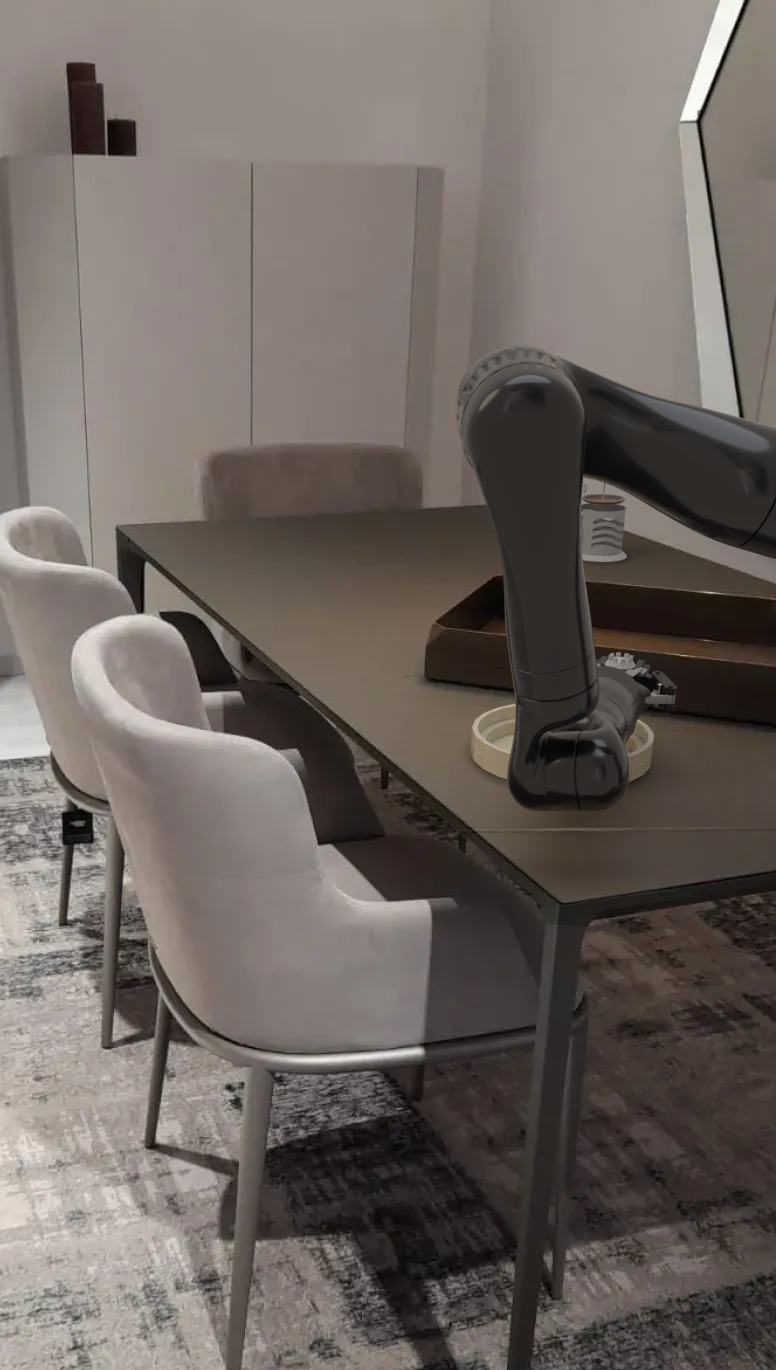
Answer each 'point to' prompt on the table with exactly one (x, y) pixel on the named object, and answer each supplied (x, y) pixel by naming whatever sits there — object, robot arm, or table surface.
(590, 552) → the french press
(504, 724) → the round cream tray
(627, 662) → the rook chess piece
